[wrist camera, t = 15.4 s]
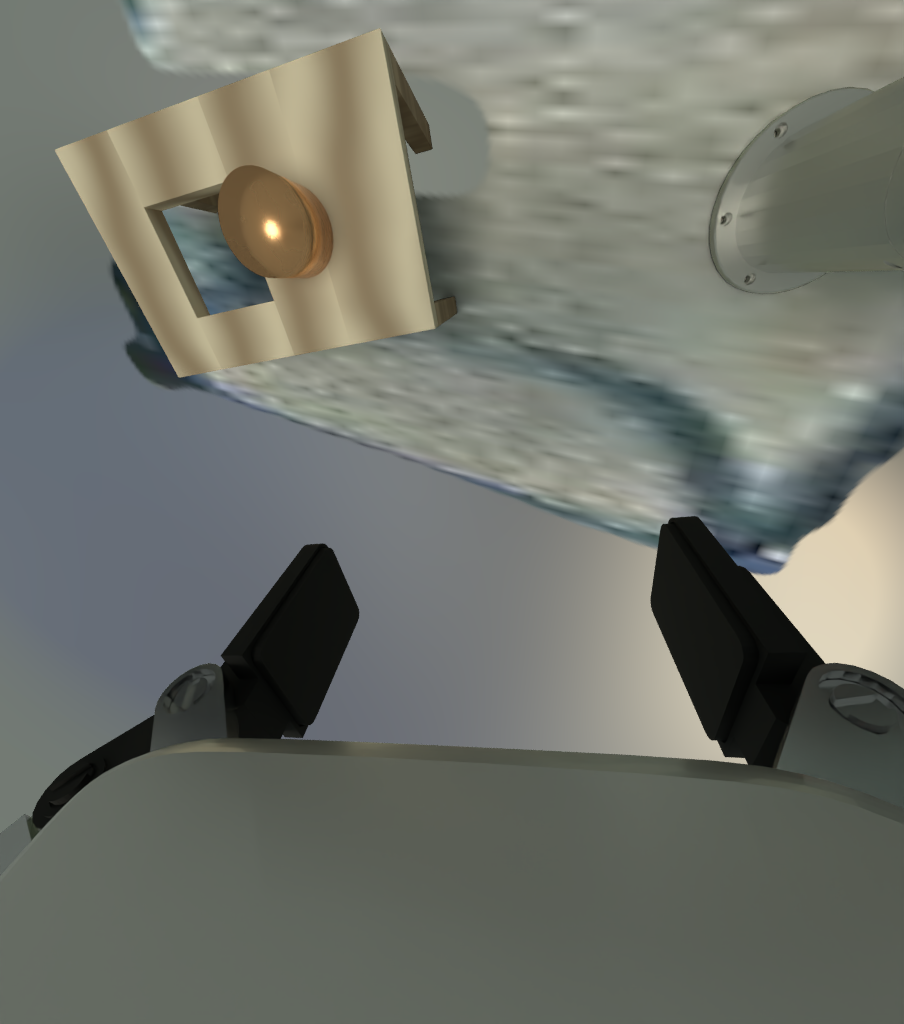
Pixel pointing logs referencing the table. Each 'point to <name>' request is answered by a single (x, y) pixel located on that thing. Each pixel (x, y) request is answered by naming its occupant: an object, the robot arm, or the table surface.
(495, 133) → the table surface
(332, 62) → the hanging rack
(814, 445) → the table surface
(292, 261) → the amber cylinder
